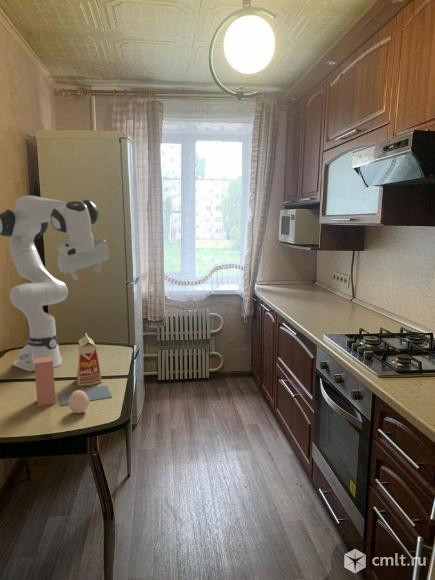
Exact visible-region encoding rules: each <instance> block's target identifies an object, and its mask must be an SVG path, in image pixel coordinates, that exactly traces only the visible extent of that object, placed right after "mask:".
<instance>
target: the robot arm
mask: <svg viewBox="0 0 435 580" xmlns="http://www.w3.org/2000/svg"><path fill="white" fill-rule="evenodd" d="M99 213H100V211H99V208H98V207H97V205H96V204H95V203H94V202H92V201H91V200H89V199H83V200H80V201H78V200H72V201H70V200H58V199H51V198H46V197H40V196H37V195H24V196H20V197H19V198H18V199H17V200H16V201H15V204H14V209H13V210H10V209H6V210H5V211H4V212H1V213H0V236H2V237H10V239H9V241H8V243H9V244H8V245H9V250H10V254H11V255H10V256H11V258H12V261H13V263H14V266H15V268H16V272H17V274H18V275H19V277H21V278H23V279H25V280H29V282H27V283H21V284H18V285H16V286H13V287H12V288H11V290H10V292H9V300H10V302H11V304H12V305H13V307H15V308H16V309H19V310H20V311H21V312H22V313H23V315H24V316H25V318H26V320H27V322H28V329H29V336H28V337H26V341H27V344H26V345H25V346H24V347H23V348H21V349H20V351H19V352H18V355H17V360H15V361H14V362H12V366H14V367H16V368H19V369H21V370H24V371H26V372H35V366H34V359H35V358H44V357H52V360H53V369H54V368H56V367H59V366H61V365H62V363H63V362H62V360H63V358H62V356H61V352H60V348H59V344H58V338H59V337H58V334H57V329H56V319H55V317H54V315H52V314H50V313H48V312H45V311H44V308H43V307H44V306H49V305H55V304H59V303H61V302H63V301H65V300H66V299H67V298H68V293H69V290H68V287H67V285H66V283H65V282H64V281H62V280H60V279H59V278H58V279H57V278H56V277H54V275H52V274H51V273H50V272H49V271H48V270H47V268H46V267H45V266H44V264H43V261H42V260H41V256H40V254H39V252H38V249H37V247H36V244H35V241H34V240H35V238H36V239H41V237H42V236H43V235H44V234H45V233H47V231H48V228H49V222H51V226H52V228H53V229H55V230H57V231H59V232H61V233H64V234H65V233H66V234H68V240H65V241H64V242H63V243H61V244H59V245H58V246H57V251H58V252H59V253H58V255H57V266H58V271H60V272H61V273H63V274H68V273H70V274H71V275H72V279H73V280H75V281H76V280H79V275H78V274H77V273H76V270H77V271H78V270H80V269H83V268H86V267H89V266H92V265H96V267H94V272H95V273H100V272H101V267H102V265H103V262H105V261H108V260H109V259H110V253H109V252H110V251H109V249H108V241H107V240H106V239H105V238H99V239H95V240H94V235H93V233H92V225H95V224H96V222H97V220H98V218H99Z"/></svg>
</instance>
